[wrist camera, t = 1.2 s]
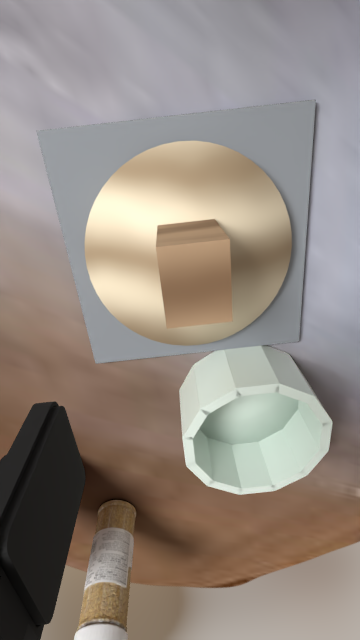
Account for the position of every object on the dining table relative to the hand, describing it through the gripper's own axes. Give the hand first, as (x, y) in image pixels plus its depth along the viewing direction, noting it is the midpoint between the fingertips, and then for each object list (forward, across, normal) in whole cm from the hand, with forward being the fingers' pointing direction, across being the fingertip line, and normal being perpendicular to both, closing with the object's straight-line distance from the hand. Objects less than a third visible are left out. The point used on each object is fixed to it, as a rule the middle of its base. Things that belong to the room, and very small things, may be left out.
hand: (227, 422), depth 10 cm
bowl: (+19, -4, +15) cm, 24 cm away
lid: (+18, 0, 0) cm, 18 cm away
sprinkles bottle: (+19, +11, +30) cm, 37 cm away
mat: (+18, 0, 0) cm, 18 cm away
